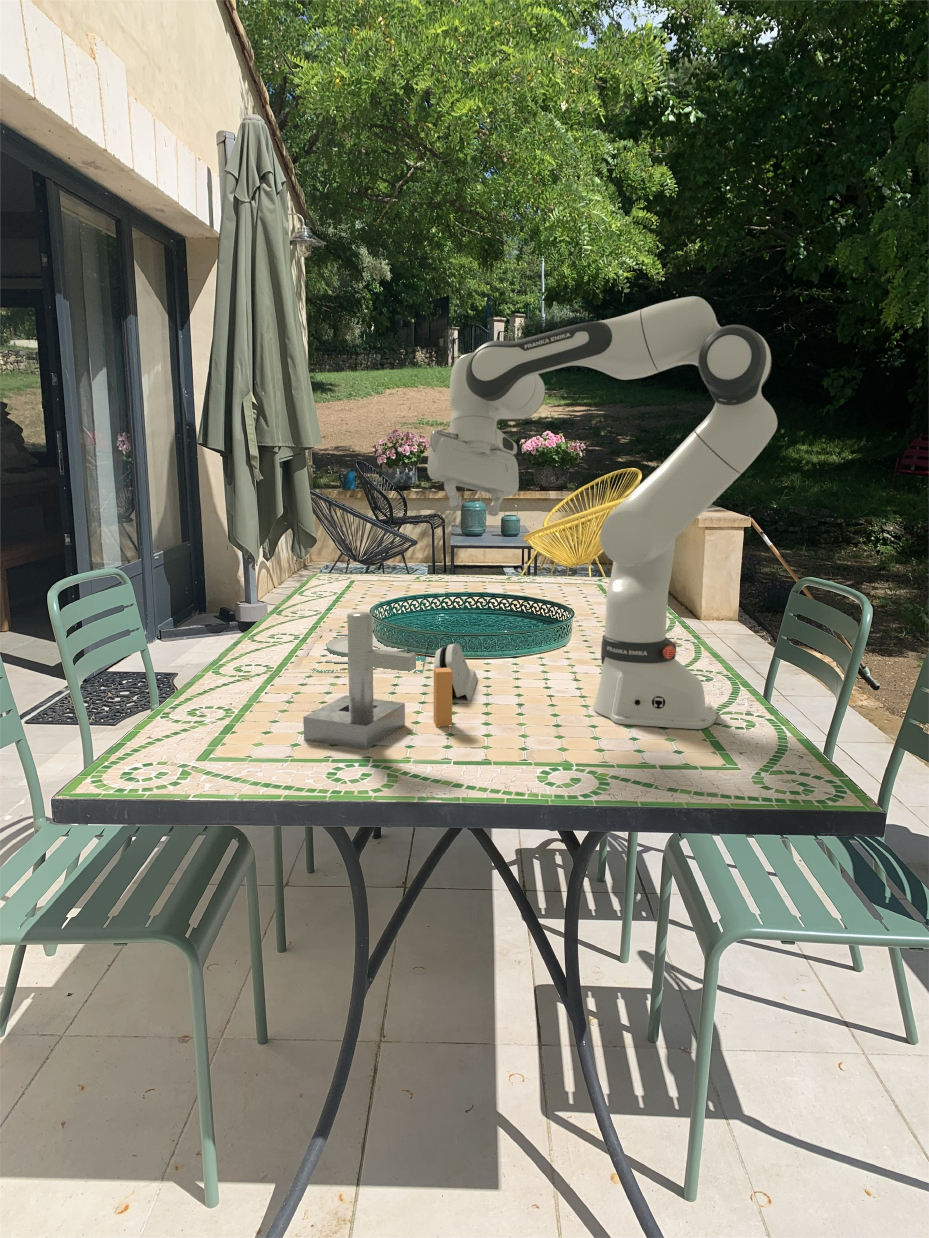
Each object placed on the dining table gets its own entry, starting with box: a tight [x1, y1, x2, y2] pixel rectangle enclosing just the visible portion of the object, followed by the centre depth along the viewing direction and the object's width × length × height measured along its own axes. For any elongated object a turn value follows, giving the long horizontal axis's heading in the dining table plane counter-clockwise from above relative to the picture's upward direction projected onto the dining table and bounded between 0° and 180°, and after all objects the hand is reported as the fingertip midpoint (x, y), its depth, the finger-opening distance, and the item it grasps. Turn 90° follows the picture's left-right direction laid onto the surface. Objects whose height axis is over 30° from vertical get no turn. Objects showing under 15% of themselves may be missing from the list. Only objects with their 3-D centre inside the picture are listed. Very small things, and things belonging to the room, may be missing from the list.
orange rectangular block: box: [433, 668, 453, 728], centre depth 159 cm, size 3×3×10 cm
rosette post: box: [302, 611, 416, 750], centre depth 152 cm, size 20×14×22 cm
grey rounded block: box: [433, 643, 478, 701], centre depth 182 cm, size 17×5×10 cm, turn 174°
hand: (474, 511), depth 167 cm, fingers open, 8 cm apart
